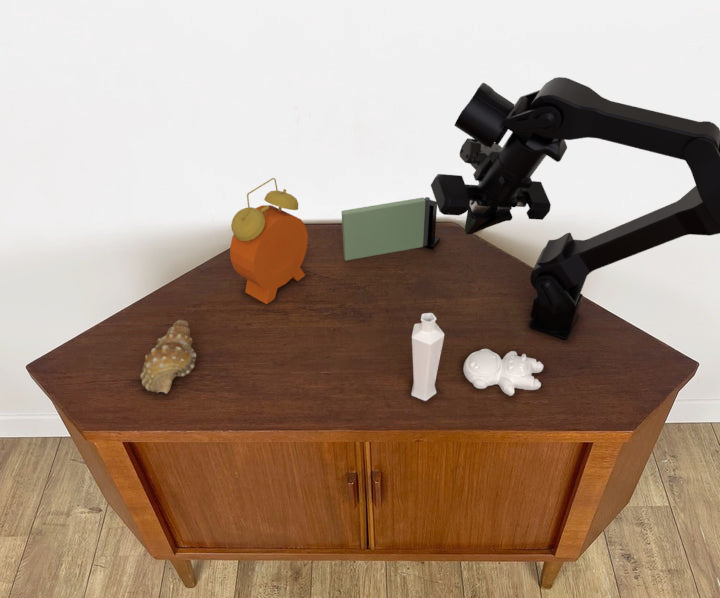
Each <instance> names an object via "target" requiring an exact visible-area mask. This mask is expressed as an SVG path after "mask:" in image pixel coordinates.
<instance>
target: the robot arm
mask: <svg viewBox="0 0 720 598" xmlns="http://www.w3.org/2000/svg"><path fill="white" fill-rule="evenodd" d="M454 127H456V129H459V130H460V131H462V132H463V133H465V134H466V135H467V136H469V137H471V138H466V140H464V142H463V144H462V145H461V148H460V150H459V158H460V159H461V160H462V161H463V162H464V163H465V164H469V165H470V166H471V167H472V168H473V169H474V172H473V174H472V175H473V178H474V181H476V182H478V184H467V183H465V180H464V177H463V175H460V174H459V175H457V174H445V173H437V174H436V176H435V177H434V178H433V180H432V182H431V184H430V188H431V190H432V193H433V196H434V200H435V201H436V202H437V209H438V211H439V213H441V214H442V215H444V216H461V215H464V214H465V213H467V214H466V218H465V223H464V232H465V235H473V234H475V233H478V232H480V231H483V230H485V229H487V228H490V227H493V226H495V225H498V224H501V223H505V222H510V221H512V220H513V214H512V212H511V210H512V209H513V208H516V207H517V208H518V207H519V208H525V207H526V206H527V207H528V210H527V211H526V212H525V213H526V215H527V217H528V220H542V221H543V220H544V219H545V218H546V216H547V215H548V214H549V213H550V211H551V208H552V207H551V206H552V204H551V201H550V199H549V197H548V194H547V192H546V190H545V188H544V186H543V183H542V181H536V180H535V181H534V180H532V178H531V177H532V176H533V174H534V173H535V172H536V170H537V169H538V168H539V166H540V165H541V164H542V163H543V161H544V160H545V159H546V157H548V158H550V159H552V160H553V161H555V162H556V163H559V162H561V160H562V159H563V157H564V155H565V153H566V151H567V149H568V145H567V142H566V141H573V140H581V139H587V138H588V139H598V140H602V141H607V142H609V143H614V144H618V145H622V146H626V147H631V148H634V149H638V150H641V151H647V152H649V153H653V154H659V155H662V156H667V157H670V158H673V159H677V160H682V161H685V162H686V165H687V166H688V168H689V170H690V172H691V175H692V178H693V181H694V183H695V186H694V187H693V188H691V189H690V190H689V191H688V192H687V193H685V194H684V195H683V196H682V197H681V198H679V199H678V200H676V201H674V202H672V203H669V204H668V205H665V206H663V207H660V208H657V209H655V210H654V211H653V210H652V211H651V212H648V213H646V214H644V215H642V216H641V215H640V216H639V217H636V218H634V219H632V220H630V221H627V222H625V223H623V224H621V225H618V226H615V227H613V228H611V229H609V230H606V231H604V232H601V233H598V234H597V235H593V236H592V237H590V238H589V237H588V238H586V239H583V240H582V239H574V237H573V235H572V233H571V232H566V233H565V234H563V235H562V236H560V237H559V238H556V239H548V241H547V243H546V244H545V246H544V247H543V249H542V250H541V252H540V254H539V255H538V258H537V260H536V263H535V265H534V267H533V268H532V271H531V273H530V277H529V279H530V284H531V286H532V287H533V289H534V290H536V295H535V297H534V298H533V303H532V308H531V312H530V318H531V321H530V322H529V325H528V327H529V328H530V329H532V330H535V331H538V332H540V333H543V334H546V335H549V336H552V337H555V338H558V339H560V340H563V341H566V340H568V339H569V337H570V335H571V334H572V332H573V330H574V327H575V326H576V324H577V322H578V320H579V317H580V315H579V314H578V313H579V311H580V307H581V304H582V300H583V296H584V295H583V293H582V290H583V288H584V285H585V282H586V280H587V278H588V275H590V274H591V273H592V272H594V271H596V270H599V269H601V268H604V267H607V266H609V265H612V264H615V263H618V262H620V261H622V260H624V259H627V258H630V257H632V256H635V255H638V254H641V253H643V252H645V251H648V250H650V249H653V248H655V247H656V248H657V247H658V246H661V245H664V244H667V243H670V242H672V241H674V240H677V239H680V238H682V237H685V236H690V235H693V236H714V235H720V128H719V126H717V124H716V123H714V122H712V121H709V120H707V121H706V120H705V121H704V120H703V121H698V120H693V119H691V118H690V119H689V118H684V117H682V116H676V115H672V114H668V113H664V112H661V111H657V110H656V111H655V110H650V109H647V108H643V107H638V106H635V105H634V106H633V105H630V104H625V103H621V102H616V101H613V100H610V99H608V98H605V97H603V96H601V95H600V94H599V93H598V92H596V91H595V90H593V89H592V87H590V86H588V85H585V84H583V83H580V82H578V81H576V80H573V79H571V78H568V77H562V76H561V77H560V76H558V77H553V78H552V79H551V80H548V81H547V82H545V84H544V85H543V86H542V87H541V88H540V89H538V90H536V91H533V92H530V93H527V94H524V95H521V96H520V97H519V98H518V99H517V101H516V102H515V103H513V102H511V100H509V99H508V98H506V97H504V96H503V95H501V94H500V93H498V92H497V91H495V89H494V88H493V87H492V86H491V85H489V84H487V83H486V82H482V83H481V84H480V85H479V87H477V89H476V91H475V92H474V94H473V96H471V99H470V100H469V102H468V103H467V104H466V105H465V106H464V108H463V109H462V111H460V114H459V115H458V117H457V118H456V121H455V122H454ZM508 131H510V132H511V134H510V135H509V137H508V138H507V139H506V141H505V143H504V144H503V146H501V145H500V143H501V141H502V140H503V138H504V137H505V135H506V134H507V132H508Z"/></svg>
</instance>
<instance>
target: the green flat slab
mask: <svg viewBox="0 0 720 598" xmlns="http://www.w3.org/2000/svg"><path fill="white" fill-rule="evenodd" d="M430 200H431V198H430V197H429V196H426V197H417V198H411V199H406V200H405V199H404V200H400V201H393V202H392V201H391V202H386V203H380V204H374V205H369V206H362V207H356V208H350V209H345V210H341V229H342V247H343V248H342V249H343V250H342V251H343V258H344V261H345V262H346V261H351V260H356V259H362V258H368V257H373V256H379V255H384V254H391V253H396V252H401V251H408V250H413V249H418V248H419V249H420V248H424V247H423V246H427V241H428V224H429V208H430Z"/></svg>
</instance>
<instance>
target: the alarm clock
mask: <svg viewBox="0 0 720 598" xmlns="http://www.w3.org/2000/svg"><path fill="white" fill-rule="evenodd" d="M273 180H274V186H275V190H271V191H269V192H267V193H266V194H265V196H264V201H265V202H266V203H267V204H266V205H265V204H263V205H259V206H257V207H251V206H250V199H249V195H250V194H252V193H254V192H255V191H257V190H258V189H260V188H261V187H263V186H265V185H266V184H268V183H270V182H271V181H273ZM246 201H247V207H245V208H242V209H240V210H238V211H237V212H236V213H235V214H234V216H233V218H232V220H231V226H230V227H231V231H232V234H233V235H232V237H231V241H230V242H231V243H230V247H229V255H230V258H229V259H230V261H231V264H232V267H233V269H234V271H235V272H236V273H237V274H238V275H239V276H241V277H243V278H245V280H246V284H245V285H246V286H245V289H244V290H245V292H244V293H245V294H247V295H249V296H251V297H253V298H254V299H256V300H258V301H260V302H261V303H264V304H265V305H268V304H269V303H271V302H272V301H273V300H274V299H276V295H277V292H278V289H279V288H281V287H282V286H284V285H287V283H288V282H290V281H291V279H293V280H295V281H296V282H299V281H300V280H301V279H302V278H304V277H306V274H305V272H304V271H303V269H302V267H301V265H302V264H303V262H304V259H305V257H306V254H307V250H308V240H309V234H308V230H307V226H306V224H305V223H304V221H303V220H302V219H301V218H299V217H297V216H295V215H293V214H291V213H289V212H287V211H285V210H283V209H286V210H291V211H297V210H299V202H298V199H297V197H295V196H294V195H292V194H290V193H288V192H287V189H285V188H283V191H281V190H278V184H277V179H276V178H275V177H272V178H270V179H269V180H267V181H265V182H264V183H262V184H260V185H259V186H257V187H256V188H254V189H252V190H250V191H249V192H247V194H246Z"/></svg>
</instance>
